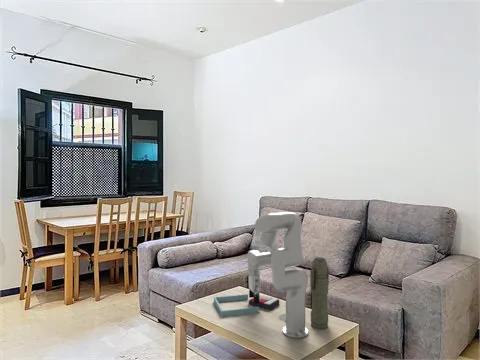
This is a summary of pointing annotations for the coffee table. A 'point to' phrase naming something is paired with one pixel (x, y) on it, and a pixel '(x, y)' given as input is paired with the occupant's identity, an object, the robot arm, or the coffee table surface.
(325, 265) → the thermos
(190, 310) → the coffee table surface
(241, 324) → the coffee table surface
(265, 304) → the calculator
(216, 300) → the teal u-shaped piece
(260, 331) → the coffee table surface
